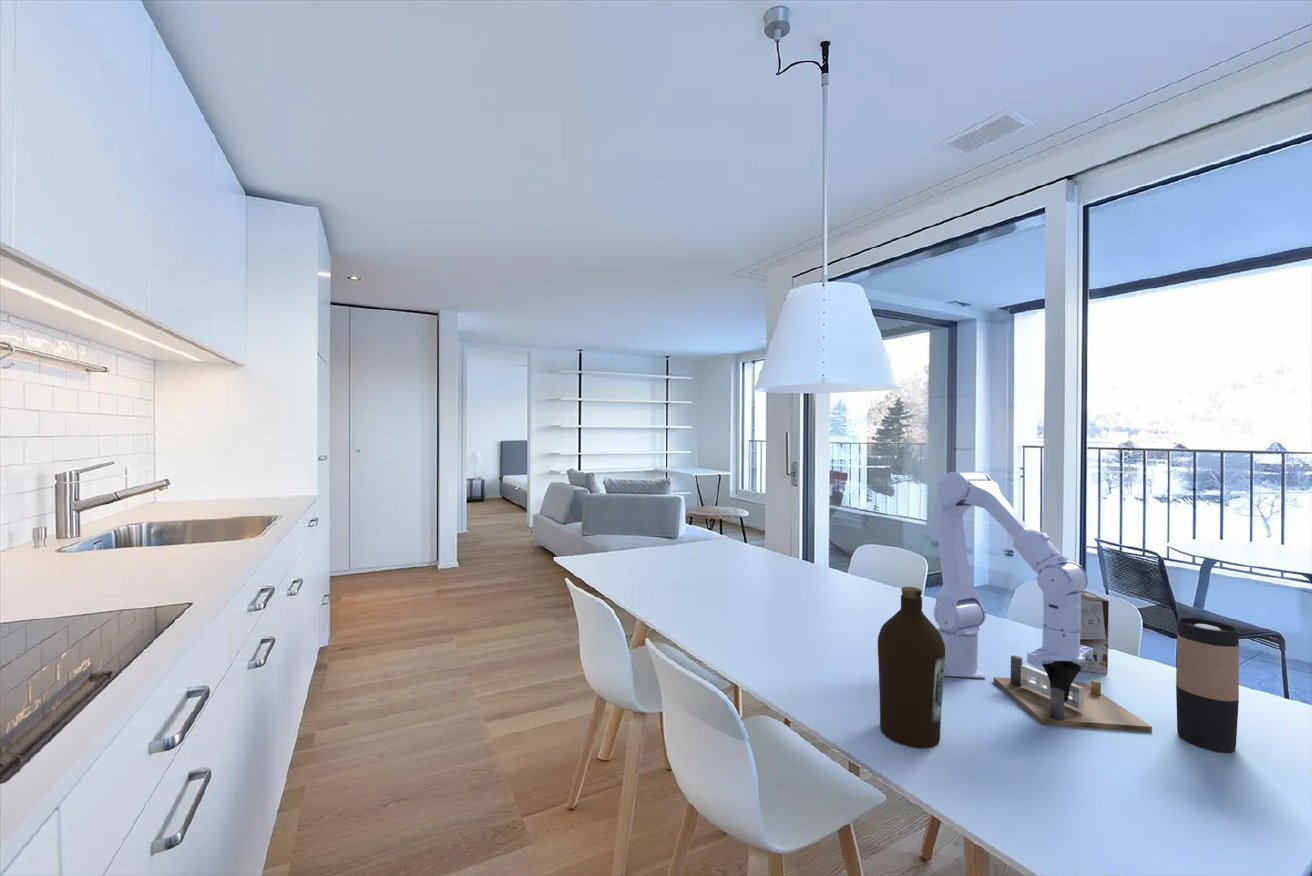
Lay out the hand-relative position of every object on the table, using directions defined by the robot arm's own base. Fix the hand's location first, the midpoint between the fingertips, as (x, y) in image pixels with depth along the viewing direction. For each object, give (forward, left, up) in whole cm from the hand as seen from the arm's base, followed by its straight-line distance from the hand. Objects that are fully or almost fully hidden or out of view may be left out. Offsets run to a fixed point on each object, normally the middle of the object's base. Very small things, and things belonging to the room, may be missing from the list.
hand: (1059, 699), depth 105 cm
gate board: (+3, +3, -2) cm, 5 cm away
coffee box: (+19, +25, -3) cm, 32 cm away
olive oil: (-31, -13, -3) cm, 34 cm away
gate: (0, +3, -1) cm, 3 cm away
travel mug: (+19, -8, -3) cm, 21 cm away
